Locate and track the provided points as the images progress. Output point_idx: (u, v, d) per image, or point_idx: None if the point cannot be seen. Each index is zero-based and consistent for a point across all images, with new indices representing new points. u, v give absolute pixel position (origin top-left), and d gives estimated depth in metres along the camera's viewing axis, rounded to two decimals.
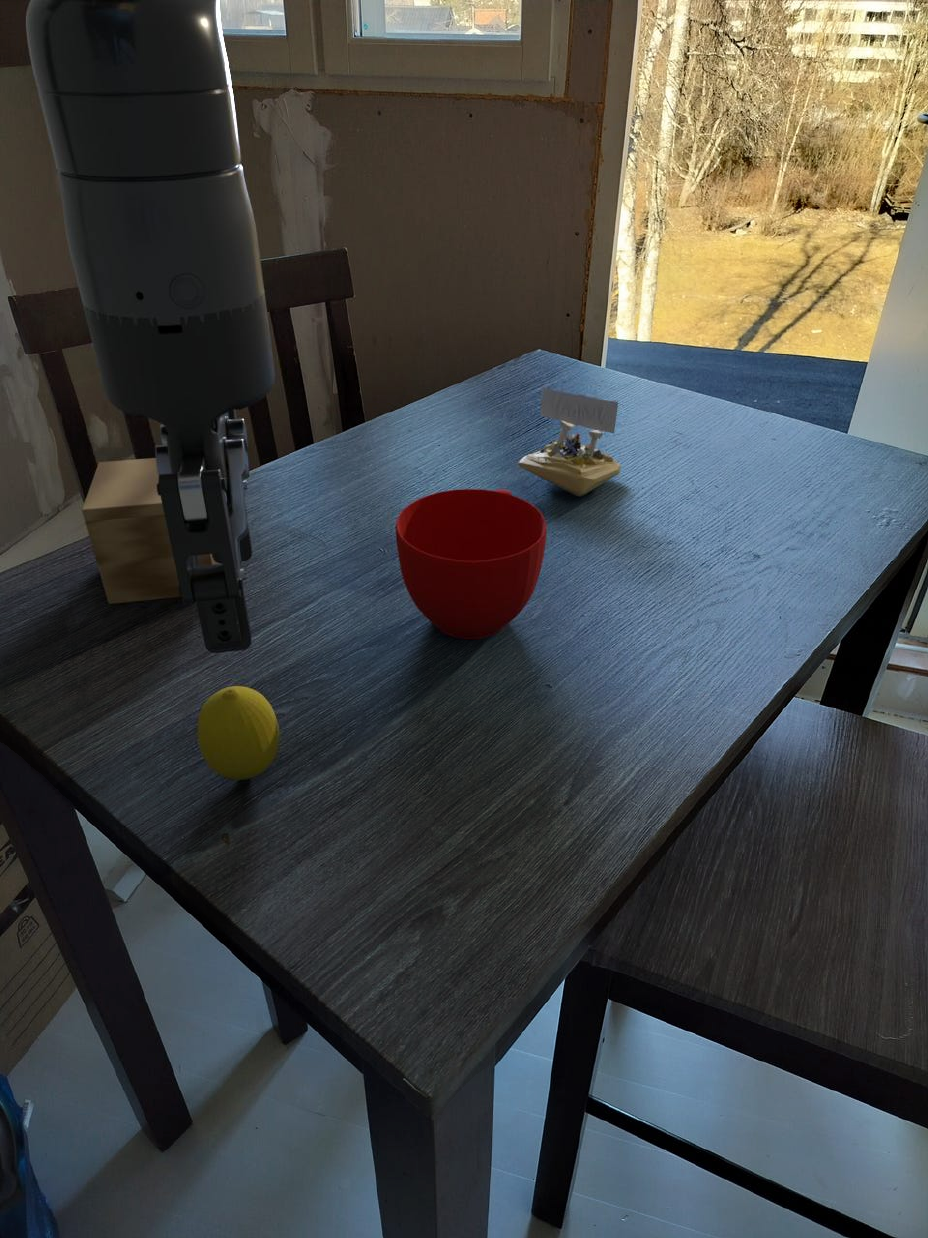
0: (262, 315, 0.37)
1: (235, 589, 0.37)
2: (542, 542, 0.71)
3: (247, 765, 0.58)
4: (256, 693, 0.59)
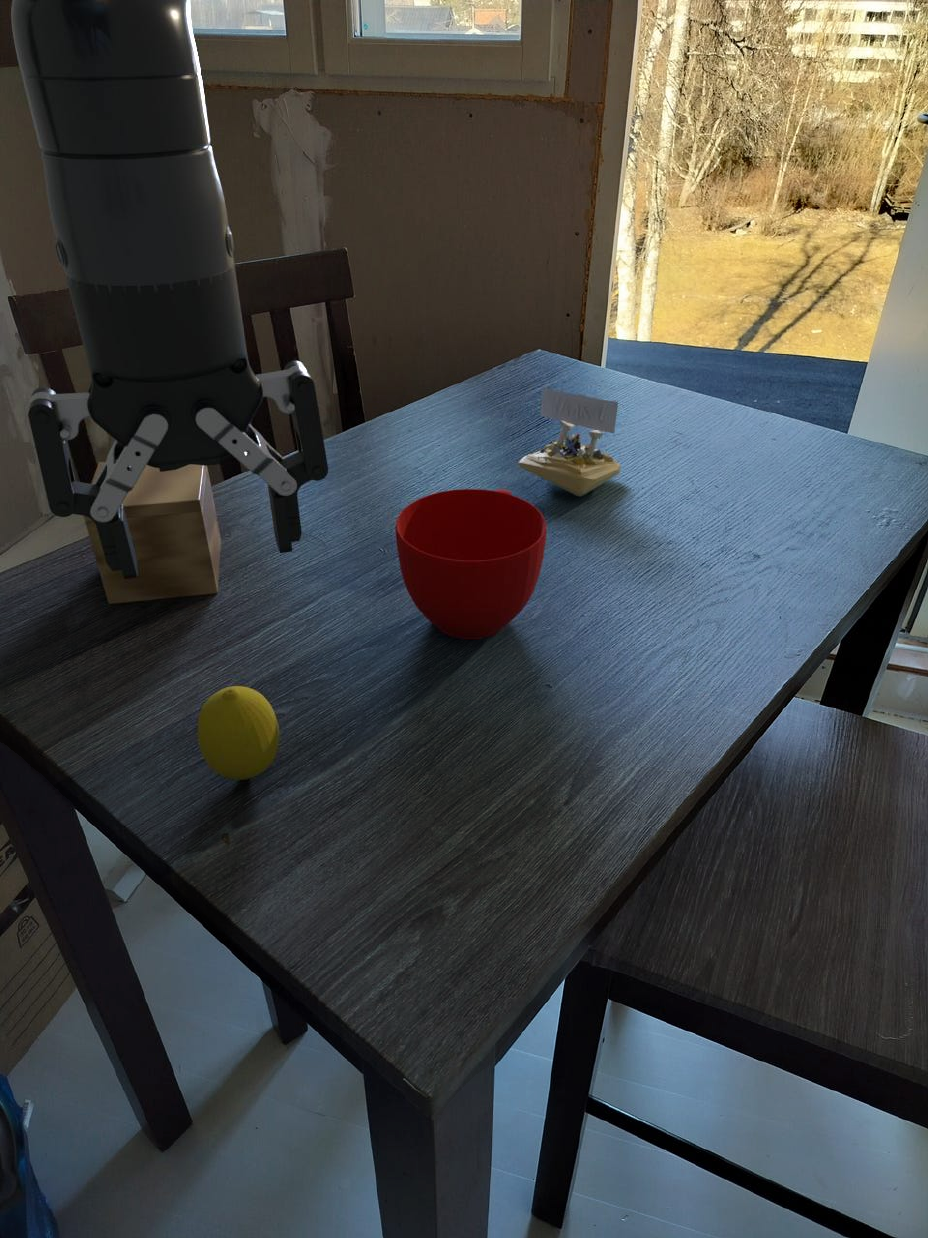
0: (130, 305, 0.37)
1: (49, 505, 0.43)
2: (542, 542, 0.71)
3: (247, 765, 0.58)
4: (256, 693, 0.59)
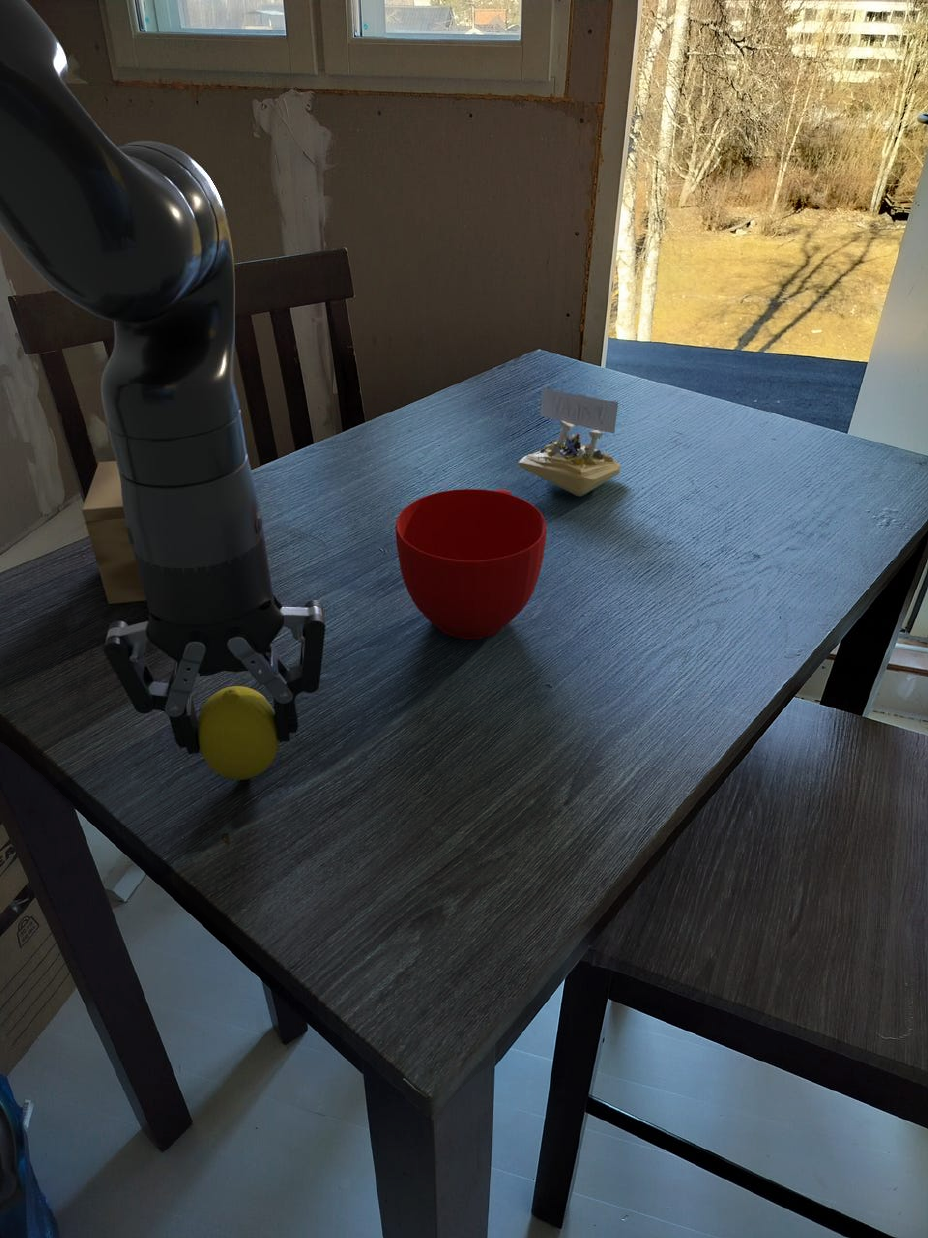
0: (176, 580, 0.48)
1: (135, 707, 0.55)
2: (542, 542, 0.71)
3: (247, 765, 0.58)
4: (256, 693, 0.59)
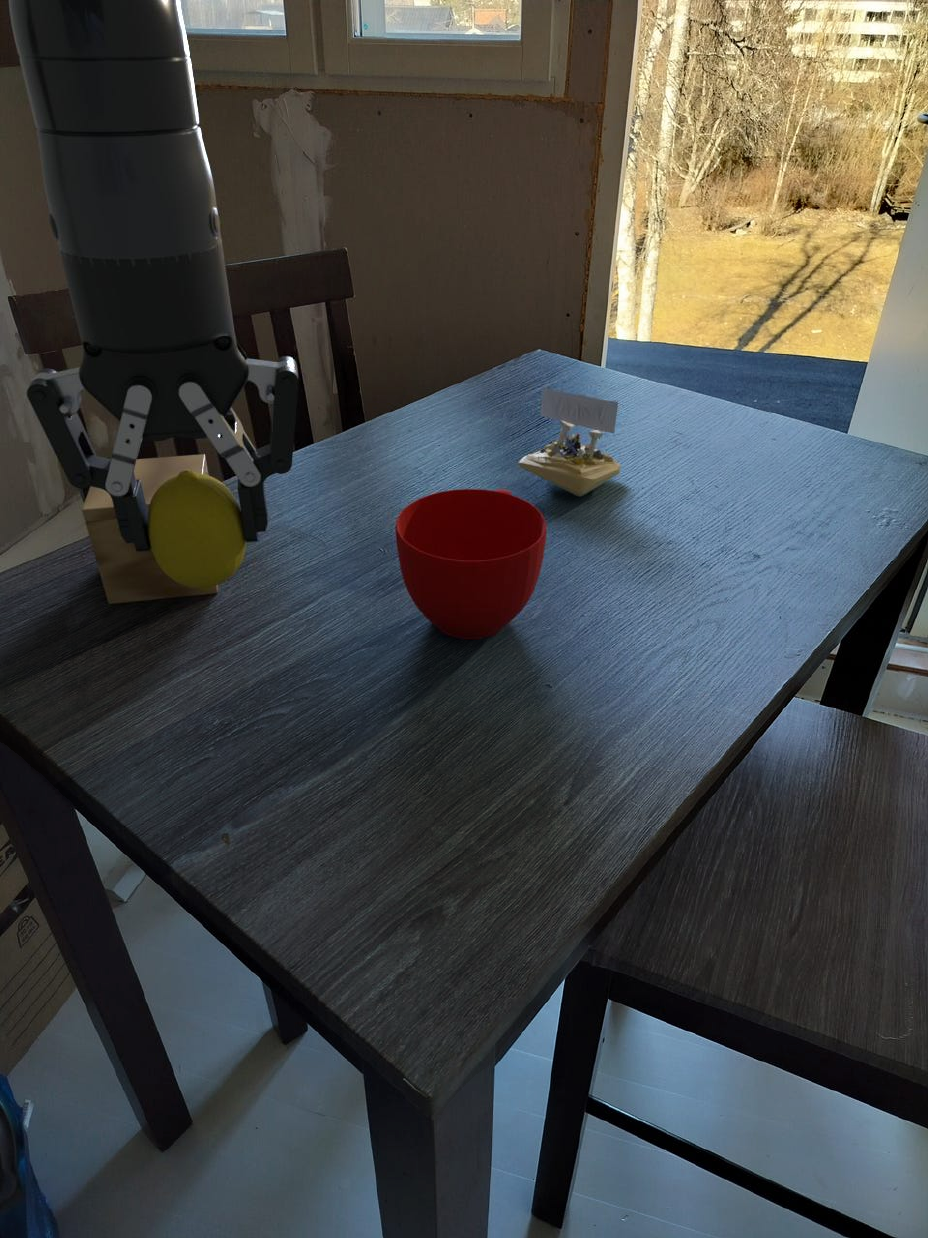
0: (110, 277, 0.39)
1: (68, 479, 0.46)
2: (542, 542, 0.71)
3: (206, 562, 0.49)
4: (218, 480, 0.50)
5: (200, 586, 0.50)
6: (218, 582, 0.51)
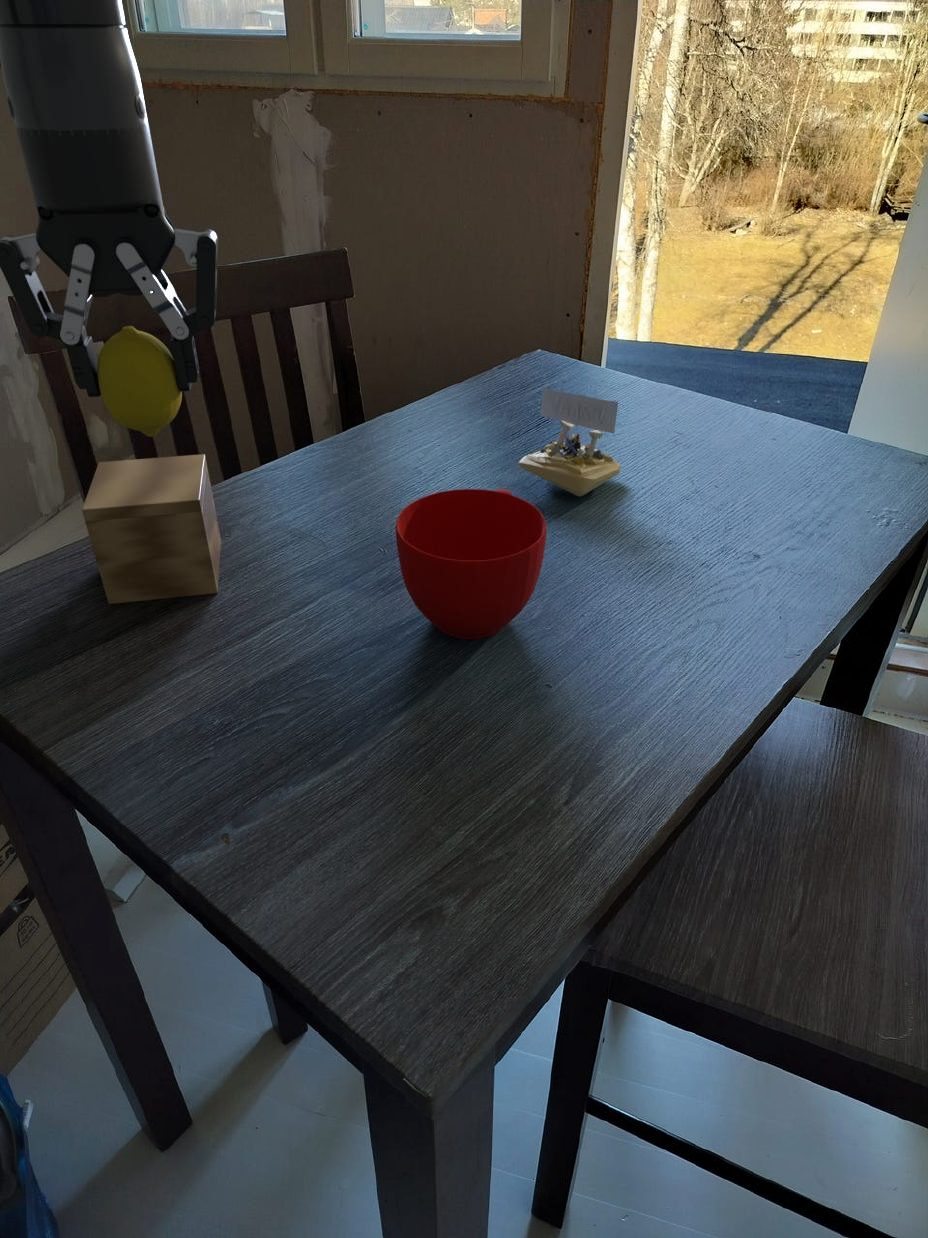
0: (54, 146, 0.49)
1: (29, 328, 0.56)
2: (542, 542, 0.71)
3: (144, 403, 0.59)
4: (156, 338, 0.60)
5: (142, 427, 0.60)
6: (157, 425, 0.61)
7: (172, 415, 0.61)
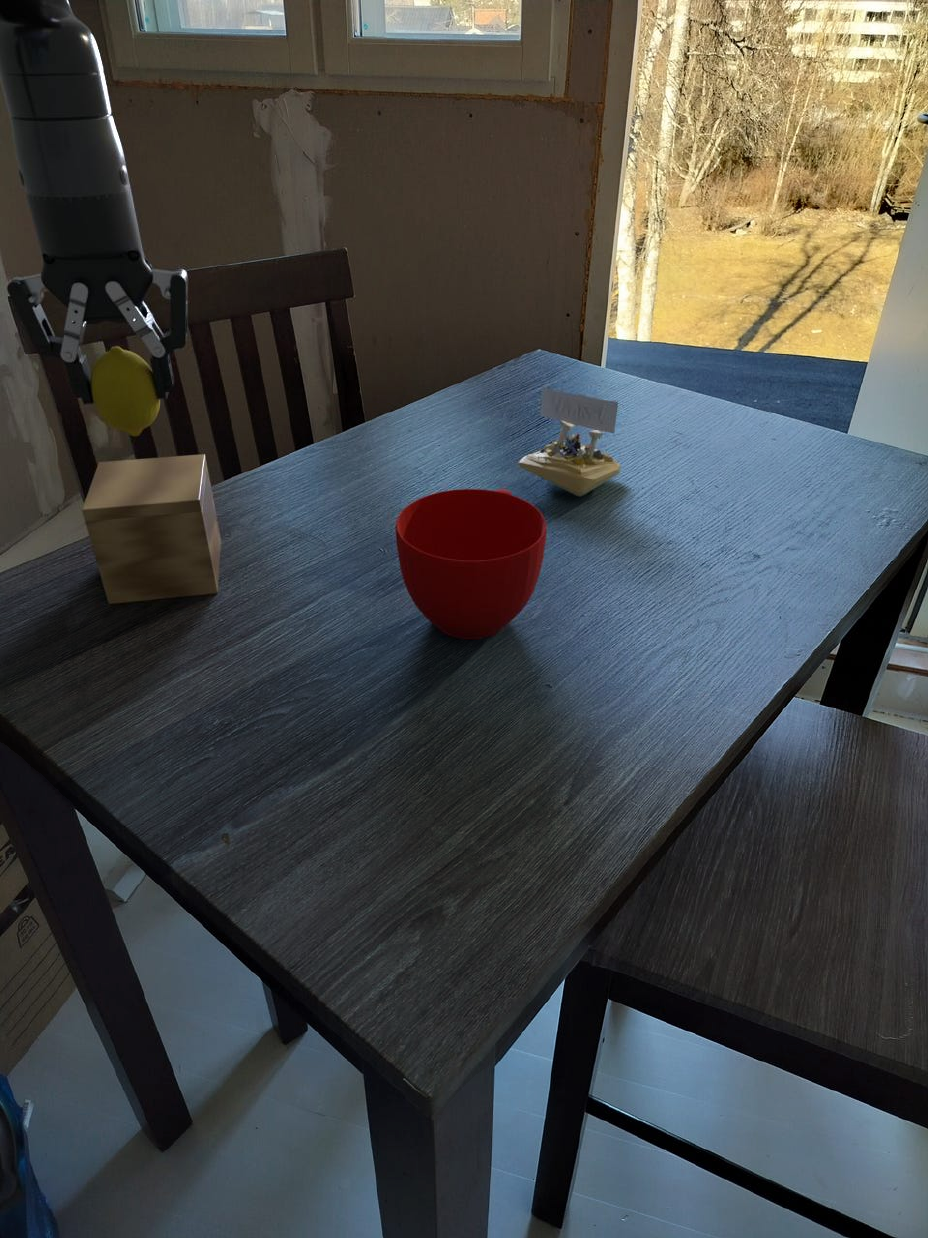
0: (56, 208, 0.62)
1: (36, 349, 0.70)
2: (542, 542, 0.71)
3: (129, 408, 0.72)
4: None
5: (127, 428, 0.74)
6: (140, 426, 0.74)
7: (152, 418, 0.75)
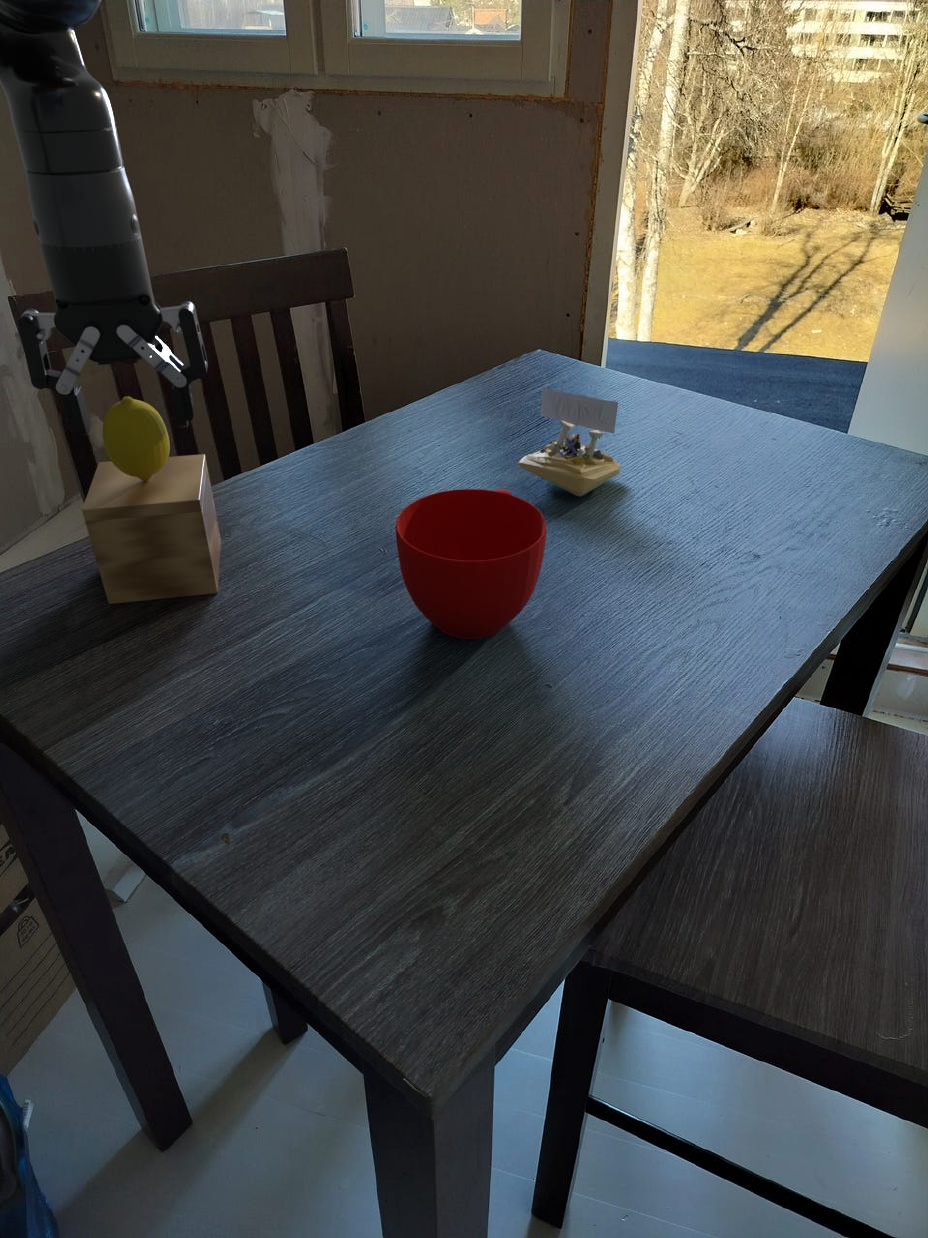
0: (70, 258, 0.64)
1: (31, 380, 0.71)
2: (542, 542, 0.71)
3: (140, 456, 0.75)
4: None
5: (138, 475, 0.77)
6: (150, 472, 0.77)
7: (162, 464, 0.77)
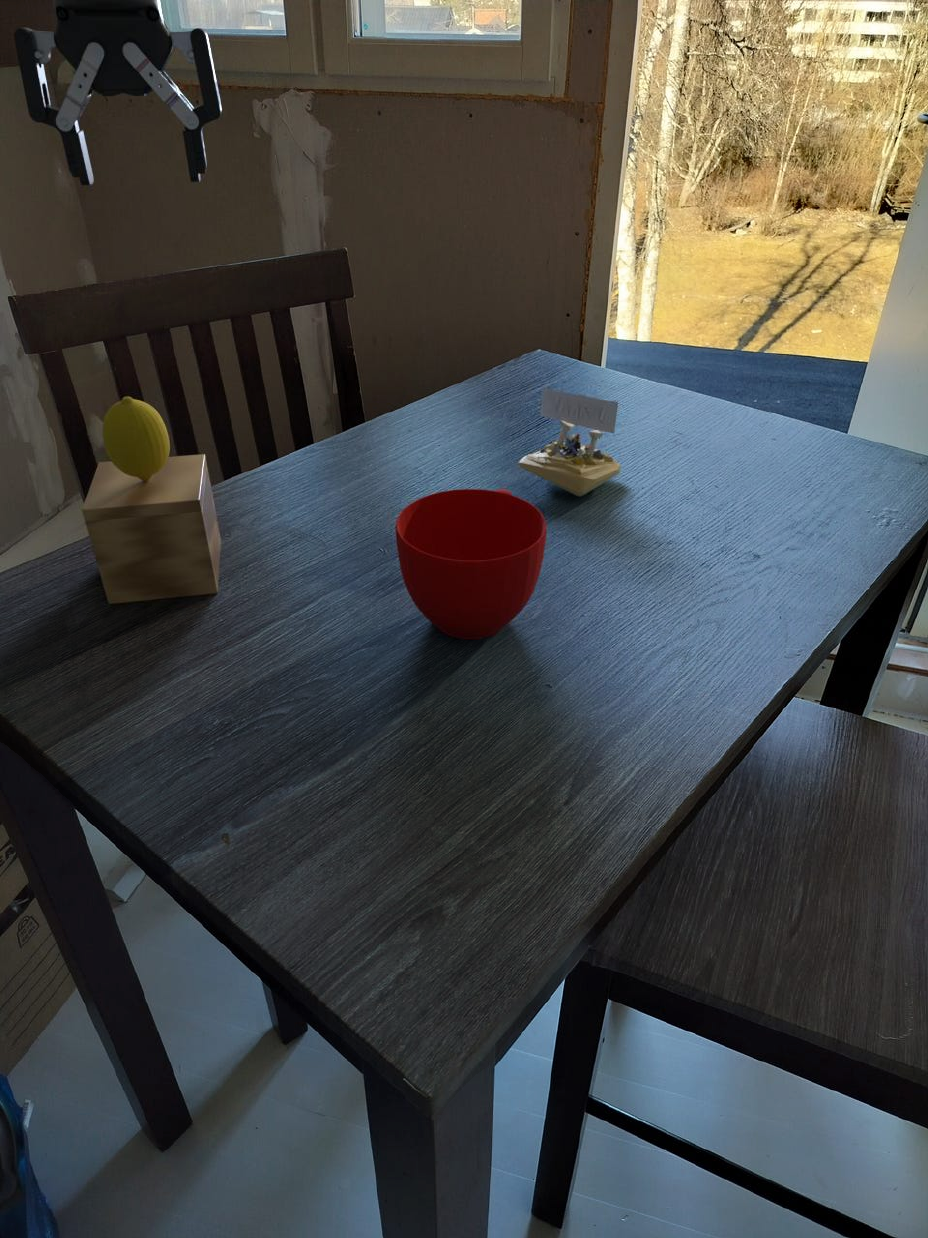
0: None
1: None
2: (542, 542, 0.71)
3: (140, 457, 0.75)
4: None
5: (138, 475, 0.77)
6: (150, 472, 0.77)
7: (162, 464, 0.77)
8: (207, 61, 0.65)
